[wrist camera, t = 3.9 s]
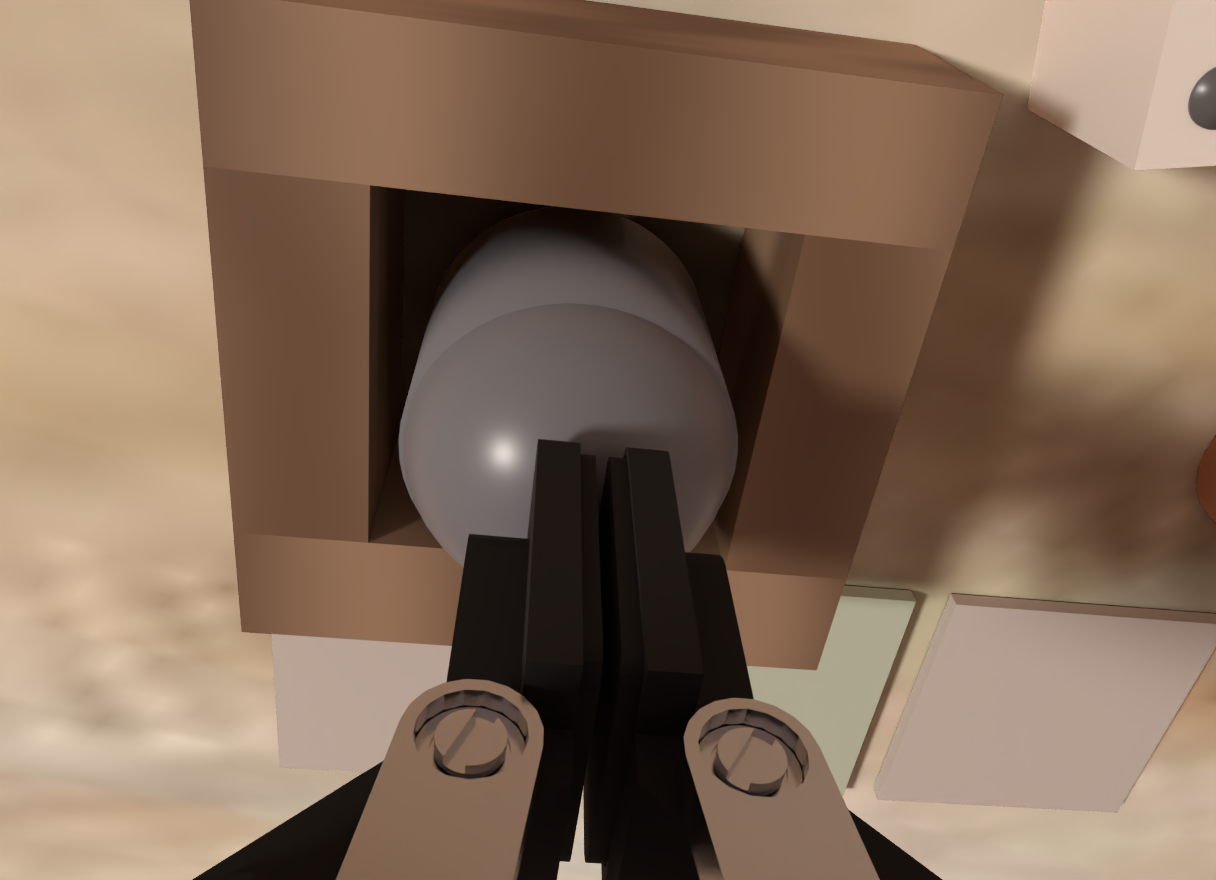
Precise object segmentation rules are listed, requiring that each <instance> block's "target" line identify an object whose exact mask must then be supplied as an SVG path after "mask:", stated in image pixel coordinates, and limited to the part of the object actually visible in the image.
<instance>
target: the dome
mask: <svg viewBox="0 0 1216 880" xmlns="http://www.w3.org/2000/svg"><path fill="white" fill-rule="evenodd" d="M538 439H545V440H556V441H567V442H577V443H580V454H586V455H595V456H596V474H597V500H598V520H599V513H600V506H601V500H602V493H603V487H604V480H605V474H606V467H607V462H608V458H609V457H618V458H623V456H624V452H625V449H626V447H630V448H641V449H652V450H662V451H668V452H669V455H670V460H671V467H672V473H673V479H674V486H675V492H676V498H677V505H678V511H679V517H680V524H681V530H682V536H683V543H684V549H685V552H691V551H692V549H693V548H694V547H695V546H696V545H697V544H698V543H699V541H700V540H701V538H702V537H703V535H704V534H705V532H706V531H707V529H708V528H709V526H710V525H711V523H712V522H713V520H714V519H715V516H716V514H717V512H718V510H719V508H720V507H721V505H722V503H723V501H724V499H725V497H726V495H727V492H728V490H729V488H730V485H731V482H732V478H733V475H734V472H735V467H736V460H737V454H738V432H737V426H736V419H735V414H734V411H733V407H732V404H731V401H730V397H729V394H728V391H727V388H726V384H725V381H724V378H723V374H722V371H721V368H720V364H719V361H718V358H717V355H716V351H715V348H714V345H713V341H712V338H711V335H710V332H709V328H708V325H707V322H706V318H705V315H704V312H703V309H702V305H701V302H700V299H699V296H698V293H697V289H696V287H695V285H694V283H693V281H692V279H691V277H690V275H689V273H688V271H687V270H686V268H685V267H684V265H683V264H682V262H681V261H680V259H679V258H678V257H677V256H676V255H675V254H674V252H673V251H672V250H671V249H670V248H669V247H668V246H667V245H666V244H665V243H664V242H663V241H661V240H660V239H659V238H658V237H657V236H655V235H654V234H653V233H651V232H650V231H648V230H647V229H645V228H644V227H642V226H640V225H639V224H637V223H635V222H633V221H631V220H628V219H626V218H624V217H622V216H619V215H616V214H613V213H610V212H602V211H593V210H584V209H575V208H566V207H545V208H540V209H535V210H531V211H526V212H523V213H520V214H518V215H515V216H512V217H509V218H507V219H505V220H503V221H501V222H499V223H497V224H495V225H493V226H491V227H490V228H488V229H487V230H486V231H484V232H483V233H481V234H480V235H478V236H477V237H476V238H475V239H473V240H472V241H471V242H470V243H469V244H468V245H467V246H466V247H465V248H464V249H463V250H462V251H461V252H460V253H459V255H458V256H457V257H456V258H455V259H454V261H453V262H452V263H451V265H450V266H449V268H448V270H447V271H446V273H445V275H444V276H443V278H442V280H441V283H440V285H439V288H438V290H437V292H436V295H435V299H434V302H433V306H432V310H431V313H430V317H429V320H428V324H427V328H426V331H425V335H424V338H423V342H422V346H421V349H420V353H419V356H418V360H417V364H416V367H415V371H414V374H413V378H412V382H411V385H410V389H409V392H408V396H407V400H406V403H405V407H404V411H403V415H402V418H401V422H400V432H399V459H400V465H401V470H402V474H403V479H404V482H405V484H406V487H407V490H408V492H409V495H410V497H411V499H412V501H413V503H414V505H415V506H416V508H417V510H418V512H419V514H420V515H421V517H422V519H423V521H424V523H425V524H426V526H427V528H428V529H429V530H430V532H431V533H432V534H433V536H434V537H435V538H436V540H437V541H438V542H439V544H440V545H441V546H442V548H443V549H444V550H445V551H446V552H447V553H448V554H449V555H450V556H451V557H452V558H453V559H454V560H455V561H456V562H457V563H458V564H459V565H461V566H462V567H463V568H464V561H465V554H466V548H467V542H468V536H469V534H478V535H489V536H501V537H513V538H525V539H527V535H528V526H529V516H530V507H531V498H532V488H533V479H534V470H535V461H536V452H537V443H538Z"/></svg>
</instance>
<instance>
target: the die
mask: <svg viewBox="0 0 1216 880" xmlns="http://www.w3.org/2000/svg"><path fill="white" fill-rule="evenodd" d="M1027 109H1028V110H1030V111H1031V112H1033V113H1035V114H1037V115H1038V116H1040V117H1042V118H1044V119H1045V120H1047V121H1049V122H1051V123H1052V124H1054V125H1056V126H1058V127H1059V128H1061V129H1063V130H1065V131H1066V132H1068V133H1070V134H1072V135H1073V136H1075V137H1077V138H1079V139H1080V140H1082V141H1084V142H1086V143H1087V144H1089V145H1091V146H1093V147H1094V148H1096V149H1098V150H1100V151H1101V152H1103V153H1105V154H1107V155H1108V156H1110V157H1112V158H1114V159H1115V160H1117V161H1119V162H1121V163H1122V164H1124V165H1126V166H1127V167H1129V168H1131V169H1133V170H1150V169H1168V168H1185V167H1202V166H1216V0H1045V6H1044V12H1043V18H1042V24H1041V30H1040V35H1039V41H1038V47H1037V53H1036V59H1035V65H1034V71H1033V76H1032V82H1031V88H1030V94H1029V100H1028V106H1027Z"/></svg>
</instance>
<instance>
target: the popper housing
mask: <svg viewBox="0 0 1216 880" xmlns="http://www.w3.org/2000/svg"><path fill="white" fill-rule="evenodd" d="M190 11H191V23H192V36H193V48H194V60H195V72H196V84H197V96H198V108H199V120H200V132H201V144H202V157H203V169H204V181H205V193H206V205H207V217H208V229H209V241H210V253H211V265H212V278H213V290H214V302H215V314H216V326H217V338H218V350H219V362H220V374H221V387H222V399H223V411H224V423H225V435H226V447H227V459H228V471H229V483H230V495H231V508H232V520H233V532H234V544H235V556H236V568H237V580H238V592H239V604H240V616H241V629H242V632H250V633H265V634H280V635H295V636H310V637H325V638H340V639H355V640H369V641H384V642H399V643H414V644H429V645H444V646H452V641H453V634H454V628H455V621H456V614H457V608H458V601H459V594H460V588H461V581H462V574H463V567H462V566H461V565H459V564H458V563H457V562H456V561H455V560H454V559H453V558H452V557H451V556H450V555H449V554H448V553H447V552H446V551H445V550H444V549H443V548H442V546H441V545H440V544H439V542H438V541H437V540H436V538H435V537H434V536H433V534H432V533H431V532H430V530H429V529H428V528H427V526H426V524H425V523H424V521H423V519H422V517H421V515H420V514H419V512H418V510H417V508H416V506H415V505H414V503H413V501H412V499H411V497H410V495H409V492H408V490H407V487H406V484H405V482H404V479H403V474H402V470H401V465H400V459H399V432H400V407H401V365H402V322H403V280H404V238H405V195H406V189H407V190H416V191H425V192H434V193H443V194H451V195H460V196H469V197H478V198H487V199H496V200H504V201H513V202H522V203H531V204H540V205H549V206H557V207H566V208H575V209H584V210H593V211H602V212H610V213H619V214H628V215H637V216H646V217H655V218H663V219H672V220H681V221H690V222H699V223H707V224H716V225H725V226H734V227H743V228H745V231H744V236H743V241H742V246H741V250H740V255H739V260H738V265H737V270H736V275H735V279H734V284H733V289H732V294H731V299H730V303H729V308H728V313H727V318H726V323H725V327H724V332H723V337H722V342H721V347H720V352H719V356H718V361H719V364H720V368H721V371H722V374H723V378H724V381H725V384H726V388H727V391H728V394H729V397H730V401H731V404H732V407H733V411H734V414H735V419H736V426H737V432H738V454H737V460H736V467H735V472H734V475H733V478H732V482H731V485H730V488H729V490H728V492H727V495H726V497H725V499H724V501H723V503H722V505H721V507H720V508H719V510H718V512H717V514H716V516H715V519H714V520H713V522H712V523H711V525H710V526H709V528H708V529H707V531H706V532H705V534H704V535H703V537H702V538H701V540H700V541H699V543H698V544H697V545H696V546H695V547H694V548H693V549H692V551H691V552H690V553H702V554H714V555H720V556H721V557H723V559H724V562H725V565H726V570H727V574H728V579H729V584H730V589H731V593H732V598H733V603H734V608H735V612H736V617H737V622H738V626H739V631H740V636H741V641H742V645H743V650H744V655H745V660H746V664H747V666H757V667H772V668H787V669H802V670H817V668H818V665H819V662H820V659H821V656H822V653H823V649H824V646H825V643H826V640H827V637H828V634H829V631H830V628H831V625H832V622H833V619H834V616H835V612H836V609H837V606H838V603H839V600H840V597H841V594H842V591H843V588H844V585H845V582H846V579H847V575H848V572H849V569H850V566H851V563H852V560H853V557H854V554H855V551H856V548H857V545H858V542H859V538H860V535H861V532H862V529H863V526H864V523H865V520H866V517H867V514H868V511H869V508H870V505H871V501H872V498H873V495H874V492H875V489H876V486H877V483H878V480H879V477H880V474H881V471H882V467H883V464H884V461H885V458H886V455H887V452H888V449H889V446H890V443H891V440H892V437H893V434H894V430H895V427H896V424H897V421H898V418H899V415H900V412H901V409H902V406H903V403H904V400H905V397H906V393H907V390H908V387H909V384H910V381H911V378H912V375H913V372H914V369H915V366H916V363H917V360H918V356H919V353H920V350H921V347H922V344H923V341H924V338H925V335H926V332H927V329H928V326H929V323H930V319H931V316H932V313H933V310H934V307H935V304H936V301H937V298H938V295H939V292H940V289H941V285H942V282H943V279H944V276H945V273H946V270H947V267H948V264H949V261H950V258H951V255H952V252H953V248H954V245H955V242H956V239H957V236H958V233H959V230H960V227H961V224H962V221H963V218H964V215H965V211H966V208H967V205H968V202H969V199H970V196H971V193H972V190H973V187H974V184H975V181H976V178H977V174H978V171H979V168H980V165H981V162H982V159H983V156H984V153H985V150H986V147H987V144H988V141H989V137H990V134H991V131H992V128H993V125H994V122H995V119H996V116H997V113H998V110H999V107H1000V103H1001V100H1002V97H1003V95H1002V94H1000V93H999V92H997V91H995V90H993V89H992V88H990V87H988V86H986V85H985V84H983V83H981V82H979V81H978V80H976V79H974V78H972V77H971V76H969V75H967V74H965V73H964V72H962V71H960V70H958V69H957V68H955V67H953V66H951V65H950V64H948V63H946V62H944V61H943V60H941V59H939V58H937V57H936V56H934V55H932V54H930V53H928V52H927V51H925V50H923V49H921V48H920V47H918V46H916V45H912V44H905V43H898V42H890V41H883V40H875V39H868V38H861V37H853V36H846V35H838V34H831V33H824V32H816V31H809V30H801V29H794V28H786V27H779V26H772V25H764V24H757V23H749V22H742V21H735V20H727V19H720V18H712V17H705V16H698V15H690V14H683V13H675V12H668V11H661V10H653V9H646V8H638V7H631V6H624V5H616V4H609V3H601V2H594V1H586V0H190Z"/></svg>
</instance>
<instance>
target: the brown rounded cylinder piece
mask: <svg viewBox="0 0 1216 880" xmlns="http://www.w3.org/2000/svg"><path fill="white" fill-rule="evenodd" d="M1197 493H1198V498H1199V501H1200V503H1201V505H1202V507H1203V508H1204V510H1205V511H1206V513H1207V514H1208V515H1209V516H1210V517H1211V518H1212V519H1213V520H1214V521H1215V522H1216V436H1215V438H1214V439H1213V440H1212V442H1211V443H1210V445H1209V447H1208V448H1207V450H1206V452H1205V454H1204V456H1203V458H1202V460H1201V463H1200V466H1199V470H1198V475H1197Z"/></svg>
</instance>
